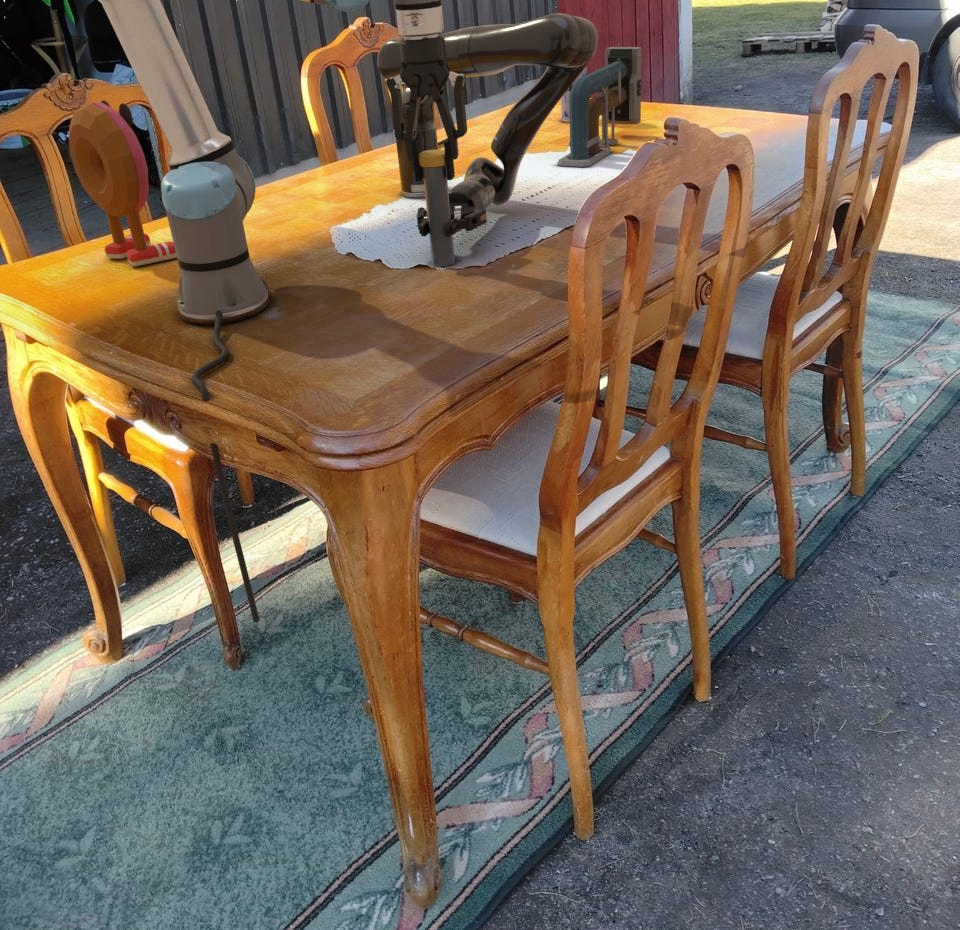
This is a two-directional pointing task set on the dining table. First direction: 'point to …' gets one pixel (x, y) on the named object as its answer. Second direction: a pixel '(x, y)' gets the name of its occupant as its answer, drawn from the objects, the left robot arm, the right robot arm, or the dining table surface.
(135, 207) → the toy
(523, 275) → the dining table surface
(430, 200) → the tube
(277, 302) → the dining table surface
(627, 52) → the clamp
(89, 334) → the dining table surface
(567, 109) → the aerosol can
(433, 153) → the lid
